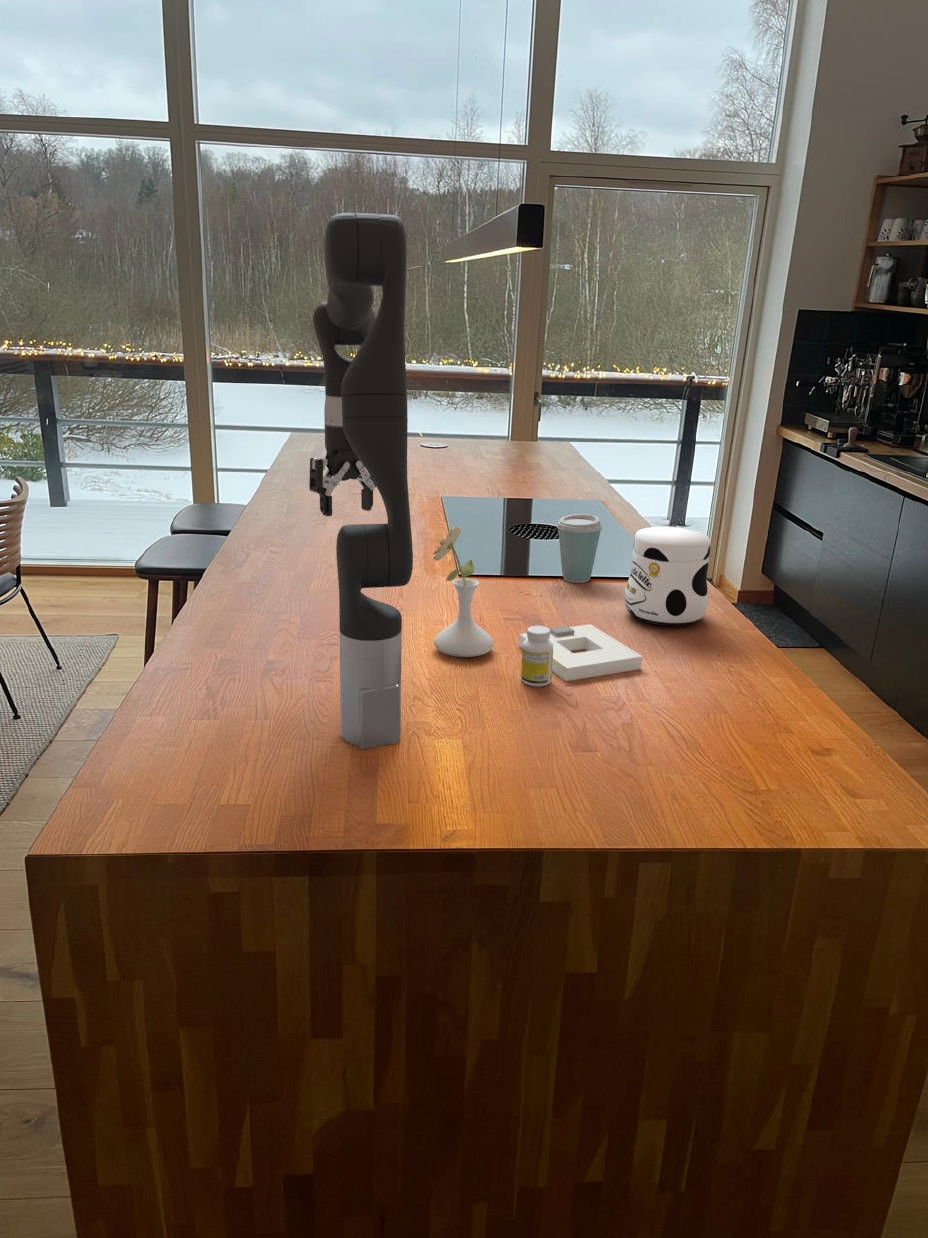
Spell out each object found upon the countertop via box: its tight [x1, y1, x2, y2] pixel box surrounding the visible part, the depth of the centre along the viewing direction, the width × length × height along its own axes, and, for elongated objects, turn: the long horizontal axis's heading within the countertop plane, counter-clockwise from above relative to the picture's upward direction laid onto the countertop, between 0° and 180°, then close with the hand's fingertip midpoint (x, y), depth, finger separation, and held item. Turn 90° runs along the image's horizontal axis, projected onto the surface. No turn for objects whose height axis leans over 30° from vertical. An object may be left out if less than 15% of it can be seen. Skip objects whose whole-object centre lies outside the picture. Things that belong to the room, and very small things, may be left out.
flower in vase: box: [432, 525, 495, 658], centre depth 175 cm, size 13×11×25 cm
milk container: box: [624, 526, 711, 627], centre depth 199 cm, size 17×17×18 cm
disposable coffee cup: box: [556, 513, 603, 584], centre depth 223 cm, size 11×11×15 cm
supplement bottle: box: [520, 625, 553, 687], centre depth 166 cm, size 5×5×10 cm
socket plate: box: [518, 623, 643, 682], centre depth 178 cm, size 18×16×3 cm
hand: (347, 512), depth 171 cm, fingers open, 8 cm apart
